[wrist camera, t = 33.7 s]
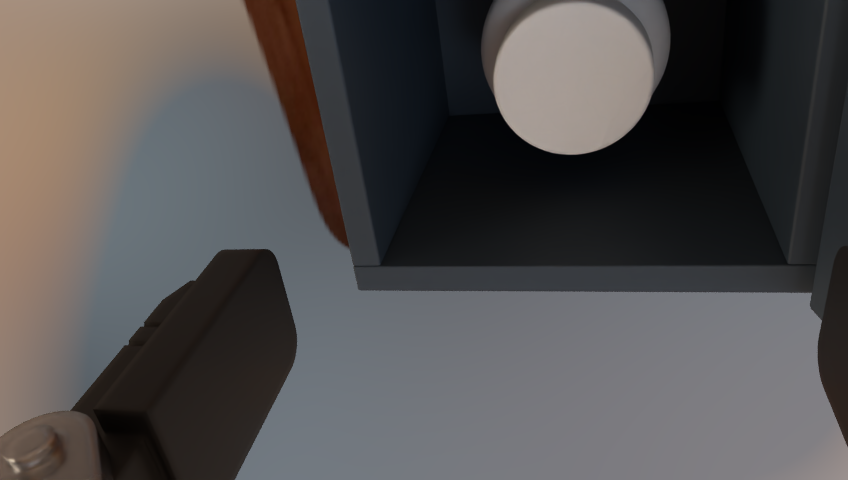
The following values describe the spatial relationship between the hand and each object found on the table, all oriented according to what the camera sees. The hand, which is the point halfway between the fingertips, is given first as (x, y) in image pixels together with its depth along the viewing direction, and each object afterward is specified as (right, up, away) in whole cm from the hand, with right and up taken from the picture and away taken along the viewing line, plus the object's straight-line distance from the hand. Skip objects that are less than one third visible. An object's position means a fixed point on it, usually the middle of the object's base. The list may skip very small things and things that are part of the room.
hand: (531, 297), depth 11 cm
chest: (+4, +10, +15) cm, 19 cm away
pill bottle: (+4, +9, +15) cm, 18 cm away
